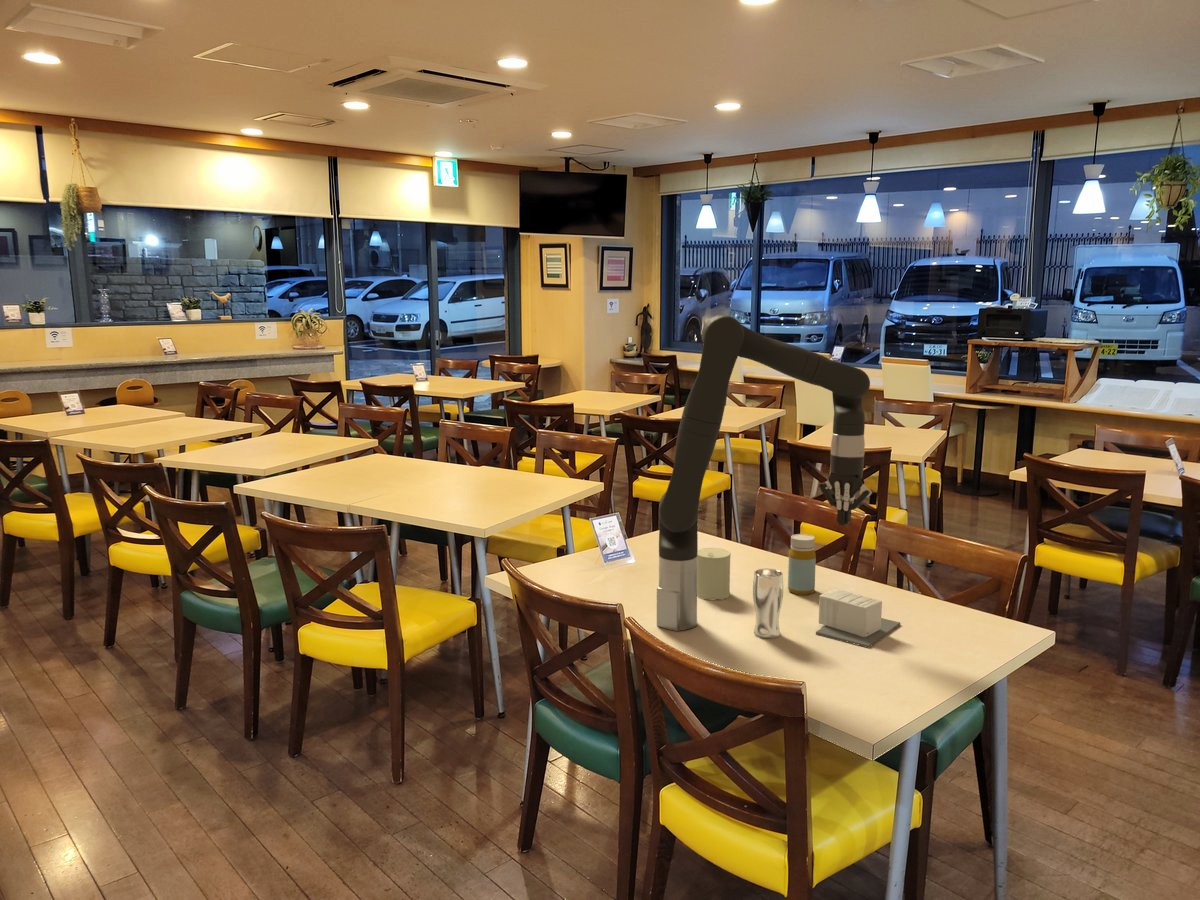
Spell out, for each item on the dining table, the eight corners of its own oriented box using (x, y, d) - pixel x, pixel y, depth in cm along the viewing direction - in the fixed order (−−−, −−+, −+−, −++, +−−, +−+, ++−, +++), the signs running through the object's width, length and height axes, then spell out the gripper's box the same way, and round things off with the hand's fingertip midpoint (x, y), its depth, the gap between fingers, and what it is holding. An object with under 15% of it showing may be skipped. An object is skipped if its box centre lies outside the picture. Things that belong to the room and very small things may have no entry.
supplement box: (834, 615, 215) (881, 630, 206) (817, 623, 210) (864, 638, 201) (836, 587, 214) (883, 600, 205) (818, 594, 209) (866, 608, 200)
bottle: (814, 596, 231) (816, 541, 229) (787, 594, 233) (789, 540, 230) (814, 587, 238) (815, 534, 235) (787, 586, 239) (789, 532, 237)
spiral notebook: (868, 648, 197) (868, 645, 197) (815, 634, 206) (815, 631, 206) (900, 624, 211) (900, 622, 211) (849, 612, 219) (849, 610, 219)
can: (691, 597, 231) (691, 554, 229) (700, 586, 239) (701, 544, 237) (725, 602, 228) (726, 557, 226) (733, 590, 236) (734, 548, 234)
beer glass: (764, 641, 202) (765, 579, 199) (745, 631, 208) (747, 570, 205) (788, 636, 205) (790, 574, 202) (769, 626, 211) (770, 566, 208)
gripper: (813, 451, 205) (810, 523, 208) (867, 458, 197) (863, 533, 200) (828, 447, 211) (825, 517, 214) (881, 454, 202) (877, 526, 205)
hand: (843, 525), depth 207 cm, fingers closed
